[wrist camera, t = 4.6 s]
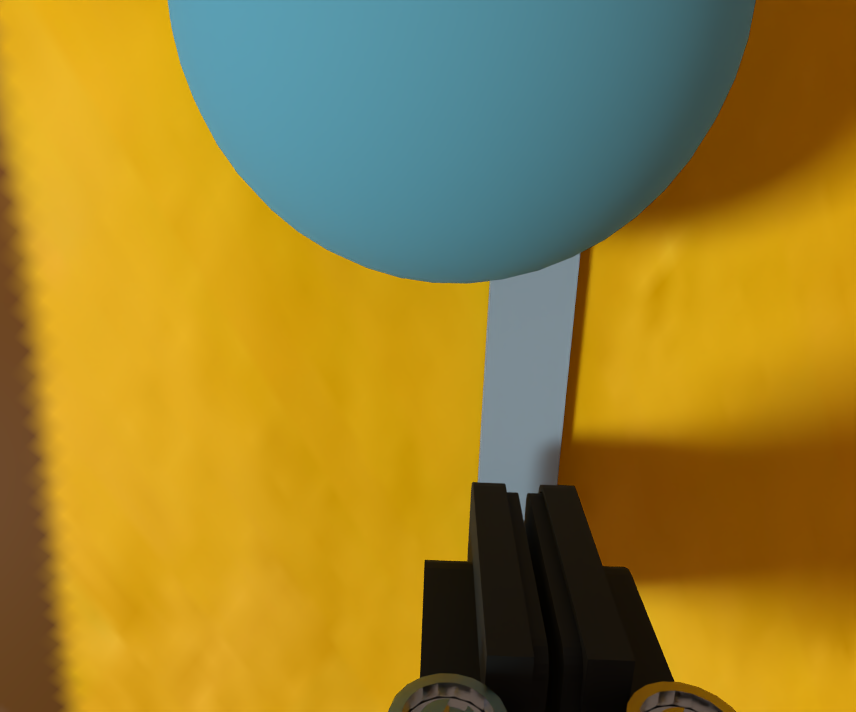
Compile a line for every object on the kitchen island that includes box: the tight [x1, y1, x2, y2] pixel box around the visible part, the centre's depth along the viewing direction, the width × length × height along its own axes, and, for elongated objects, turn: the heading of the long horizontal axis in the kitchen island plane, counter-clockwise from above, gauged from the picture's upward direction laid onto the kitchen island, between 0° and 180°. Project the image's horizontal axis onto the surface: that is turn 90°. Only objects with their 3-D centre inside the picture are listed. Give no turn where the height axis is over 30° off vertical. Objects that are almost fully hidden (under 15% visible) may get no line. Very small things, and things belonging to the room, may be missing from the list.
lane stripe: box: [478, 253, 580, 520], centre depth 12 cm, size 10×1×1 cm, turn 178°
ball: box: [168, 0, 756, 283], centre depth 8 cm, size 6×6×6 cm
